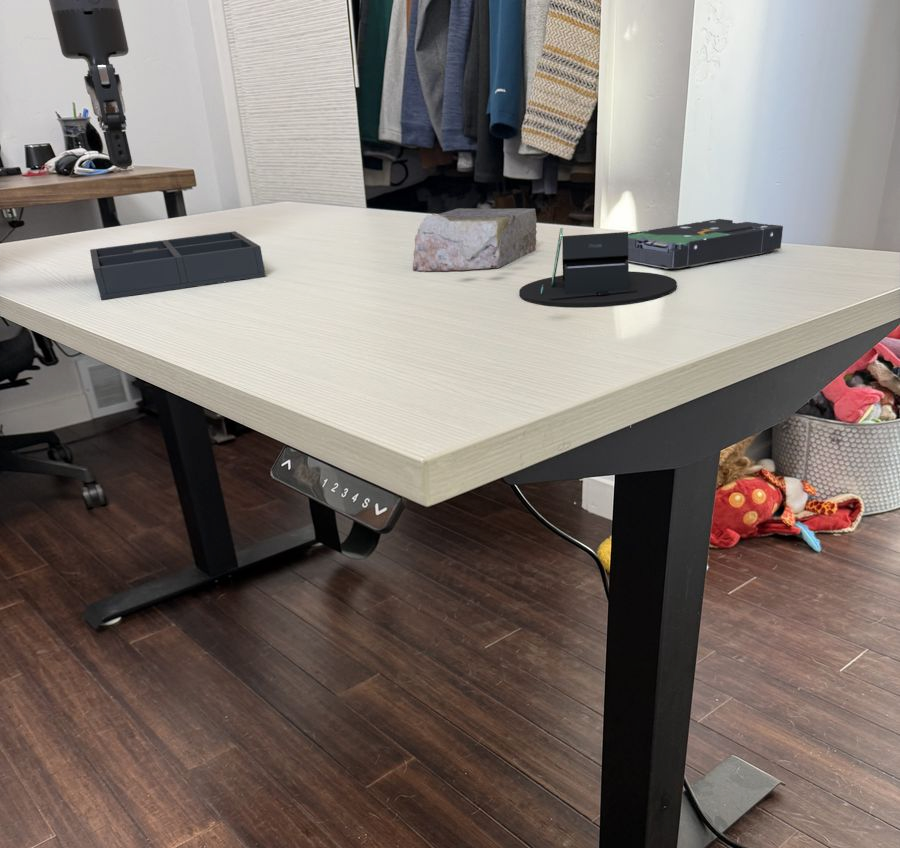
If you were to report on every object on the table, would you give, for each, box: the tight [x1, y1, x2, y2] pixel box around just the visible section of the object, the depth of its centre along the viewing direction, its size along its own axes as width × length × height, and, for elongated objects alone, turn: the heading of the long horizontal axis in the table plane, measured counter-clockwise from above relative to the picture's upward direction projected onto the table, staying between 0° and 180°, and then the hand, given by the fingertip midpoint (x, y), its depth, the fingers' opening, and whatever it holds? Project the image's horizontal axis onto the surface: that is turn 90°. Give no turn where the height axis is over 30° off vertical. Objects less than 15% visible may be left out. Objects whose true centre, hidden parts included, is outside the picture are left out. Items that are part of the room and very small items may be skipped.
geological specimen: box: [412, 207, 538, 273], centre depth 103 cm, size 11×6×15 cm
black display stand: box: [518, 227, 678, 308], centre depth 82 cm, size 15×15×6 cm
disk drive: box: [628, 218, 784, 270], centre depth 94 cm, size 10×3×15 cm
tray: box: [89, 230, 266, 301], centre depth 110 cm, size 19×19×4 cm
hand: (121, 165), depth 107 cm, fingers open, 8 cm apart
